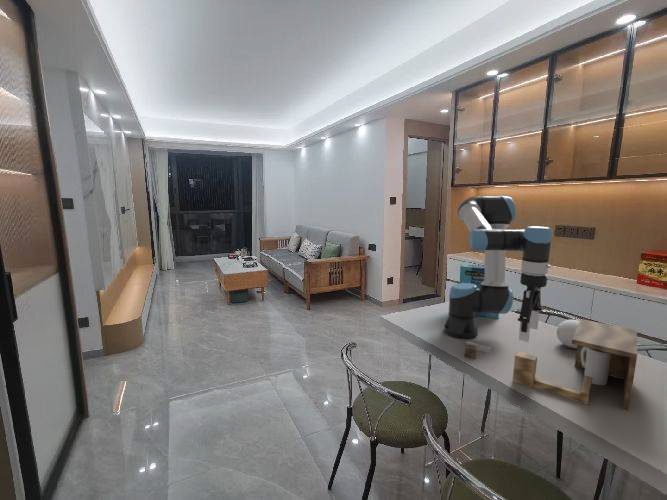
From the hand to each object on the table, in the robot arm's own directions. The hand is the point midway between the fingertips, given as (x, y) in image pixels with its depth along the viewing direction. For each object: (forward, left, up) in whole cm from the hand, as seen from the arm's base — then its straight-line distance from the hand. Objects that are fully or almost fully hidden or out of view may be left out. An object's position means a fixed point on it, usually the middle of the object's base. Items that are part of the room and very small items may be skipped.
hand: (528, 334), depth 114 cm
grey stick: (-21, +17, -18) cm, 32 cm away
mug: (+17, +19, -18) cm, 32 cm away
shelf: (+20, +15, -18) cm, 30 cm away
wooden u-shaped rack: (+7, +5, -18) cm, 20 cm away
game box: (-35, +59, -18) cm, 71 cm away
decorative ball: (+9, +45, -18) cm, 49 cm away
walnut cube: (-21, +8, -18) cm, 29 cm away
